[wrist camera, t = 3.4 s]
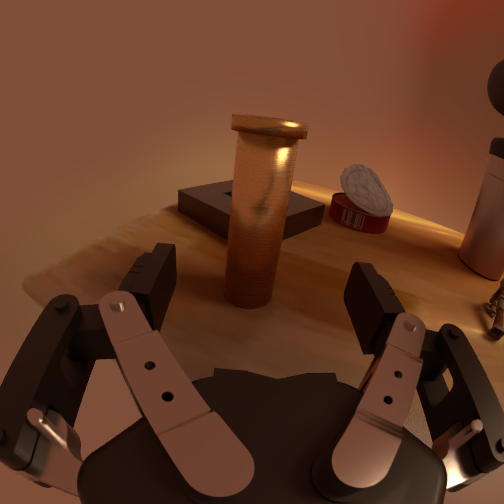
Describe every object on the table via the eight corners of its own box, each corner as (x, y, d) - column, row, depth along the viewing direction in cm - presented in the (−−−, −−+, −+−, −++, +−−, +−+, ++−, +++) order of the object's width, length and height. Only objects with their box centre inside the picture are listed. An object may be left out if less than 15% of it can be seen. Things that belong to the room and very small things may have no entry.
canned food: (366, 240, 48) (404, 201, 43) (366, 259, 39) (413, 211, 34) (321, 197, 49) (356, 155, 44) (310, 207, 40) (355, 155, 35)
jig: (249, 194, 47) (251, 177, 45) (320, 224, 39) (325, 204, 37) (178, 210, 38) (178, 190, 36) (251, 253, 30) (254, 227, 28)
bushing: (247, 270, 27) (267, 116, 20) (289, 295, 24) (322, 126, 17) (205, 289, 23) (216, 113, 17) (247, 321, 21) (275, 120, 14)
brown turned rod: (497, 297, 25) (513, 276, 22) (486, 350, 21) (507, 332, 18) (487, 292, 26) (502, 270, 22) (475, 344, 22) (495, 325, 19)
